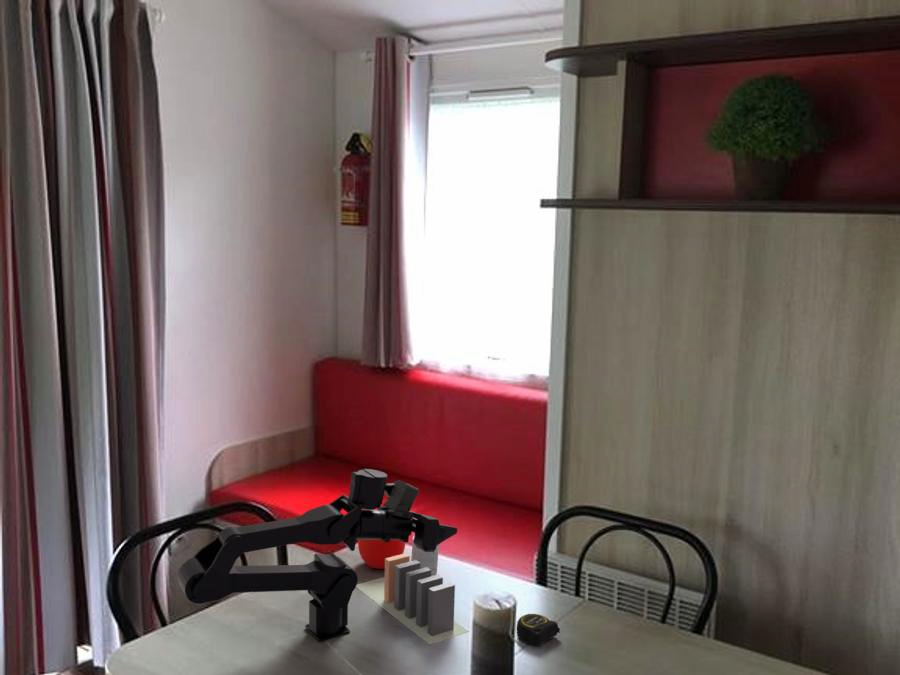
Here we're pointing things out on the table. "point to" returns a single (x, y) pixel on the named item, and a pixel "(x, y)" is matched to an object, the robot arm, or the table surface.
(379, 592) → the runner
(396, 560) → the domino
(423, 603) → the domino
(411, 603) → the domino
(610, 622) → the table surface
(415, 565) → the domino
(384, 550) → the tomato
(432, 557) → the supplement box
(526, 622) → the tape measure
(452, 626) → the domino
